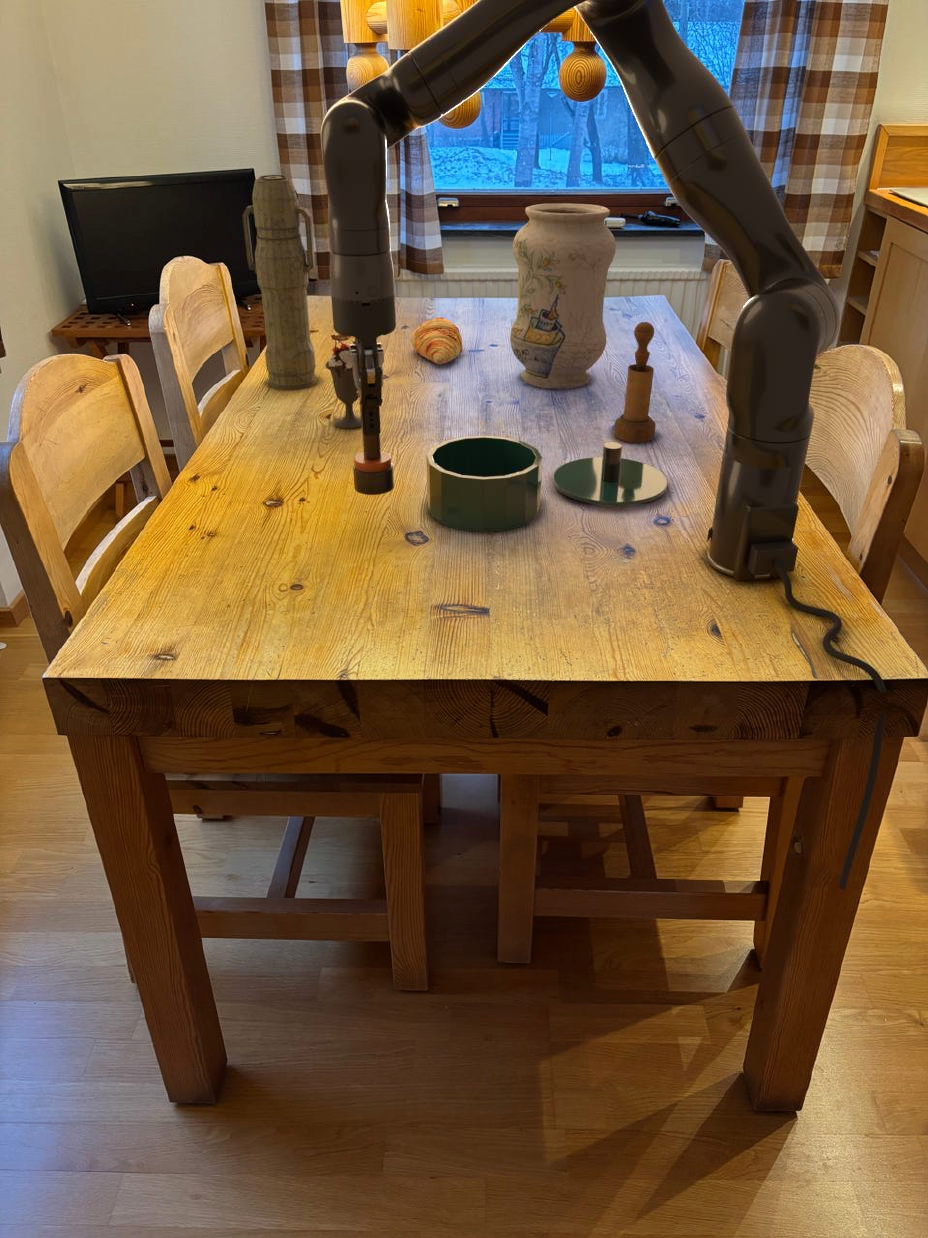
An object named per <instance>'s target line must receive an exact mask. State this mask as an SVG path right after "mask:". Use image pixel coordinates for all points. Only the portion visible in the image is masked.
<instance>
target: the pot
mask: <svg viewBox="0 0 928 1238" xmlns="http://www.w3.org/2000/svg"><path fill="white" fill-rule="evenodd" d="M425 459H426V498H427V500H426V501H427V507H428V508H427V509H428V512H429V514H430V516H431V517H432V518H433V519H434V520H435V521H437V522H438V523H440V524H442V525H444V526H446V527H449V528H452V529H456V530H460V531H466V532H474V533H491V532H492V533H496V532H503V531H510V530H514V529H516V528H517V529H518V528H520V527H522V526H525V525H527V524H529V523H530V522H532V521H533V520H534V519H535V518H536V517H537V516H538V515H539V512H540V507H541V499H542V498H541V496H542V477H543V475H542V473H543V456H542V454H541V453H540V451H539V449H538V448H536V447H535V446H532V445H531V444H529V443H527V442H525V441H523V440H518V439H514V438H510V437H505V436H494V435H473V436H472V435H471V436H470V435H469V436H461V437H457V438H453V439H447V440H445V441H443V442H440V443H438V444H437V445H434V446H432V447H431V449H430V450H429V452H428V453H427V455H426V457H425Z"/></svg>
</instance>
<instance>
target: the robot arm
mask: <svg viewBox="0 0 928 1238" xmlns="http://www.w3.org/2000/svg"><path fill="white" fill-rule="evenodd" d="M571 9H575V10H576V12H577V13H578V15H579V16H580V18H581V19H582V22H584V24H585V25H586V28H588V30H589V31H590V33H591V34H592V36H593V37H594V39H595V40H596V42H597V44H598V45H599V47H600V49H601V50H602V51H603V53H604V55H605V56H606V58H607V59H608V61H609V62H610V64H611V66H612V67H613V69H614V72H615V73H616V75H617V77H618V79H619V81H620V84H621V85H622V88H623V90H624V93H625V95H626V98H627V102H628V103H629V106H630V108H631V111H632V113H633V115H634V117H635V120H636V123H637V124H638V127H639V129H640V131H641V133H642V135H643V137H644V140H645V142H646V145H647V146H648V148H649V151H650V153H651V156H652V158H653V159H654V161H655V163H656V165H657V168H658V169H659V171H660V173H661V175H662V177H663V179H664V181H665V183H666V185H667V186H668V188H669V190H670V192H671V194H672V196H673V197H674V199H675V200H676V202H677V203H678V205H679V206H680V207H681V208H682V210H683V211H684V212H685V214H687V216H689V218H690V219H691V220H692V221H693V222H694V223H695V224H696V225H697V226H698V227H699V228H700V229H701V230H702V231H703V233H705V234H706V235H707V236H708V237H709V238H710V239H711V241H713V242H714V243H715V244H716V245H717V246H718V248H720V249H721V250H722V251H723V253H724V254H725V255H726V257H727V258H728V259H729V261H730V262H731V264H732V266H733V267H734V269H735V271H736V273H737V275H738V277H739V278H740V281H741V283H742V285H743V287H744V289H745V292H746V293H747V296H748V299H749V300H748V301H747V302H746V303H744V305H743V306H742V308H741V310H740V312H739V314H738V316H737V318H736V321H735V324H734V328H733V333H732V338H731V344H730V345H731V346H730V351H729V361H728V362H729V363H728V370H727V371H728V372H727V381H726V389H725V400H726V401H725V402H726V406H727V409H728V418H727V419H728V420H727V424H726V425H727V426H726V432H725V438H724V446H723V451H722V456H721V457H722V459H721V465H720V471H719V478H718V484H717V491H716V497H715V504H714V505H715V506H714V512H713V518H712V525H711V527H710V528H709V530H708V532H707V538H706V543H708V542H709V546H708V549H707V553H706V559H707V562H708V563H709V565H710V566H711V567H712V568H713V569H715V570H717V571H719V573H722V574H725V575H728V576H731V577H733V578H734V579H735V581H737V582H742V581H743V582H744V581H751V580H752V581H755V580H767V579H779V578H780V579H781V581H782V583H783V587H784V595H785V598H786V601H787V602H788V603H789V604H790V605H791V606H792V607H793V608H795V609H796V610H799V611H801V612H803V613H808V614H810V615H815V616H819V617H824V618H827V619H829V620H830V621H832V623H833V625H832V627H831V628H830V629H829V631H827V632H826V633H825V634H824V636H823V638H822V641H821V643H822V647H823V649H824V651H825V652H826V653H827V654H828V655H829V656H831V657H832V658H834V659H836V660H839V661H841V662H843V663H846V664H849V665H852V666H853V667H857V668H858V669H860V670H863V671H864V672H865V673H866V674H868V675H869V677H870V678H871V679H872V682H874V685H875V686H876V689H877V690H878V692H880V693H882V694H886V693H887V692H888V690H887V686H886V684H885V681H884V680H883V678H882V676H881V675H880V673H879V672H878V671H877V670H876V669H875V668H874V667H873V666H872V665H871V664H870V663H867V662H866V661H864V660H862V659H860V658H858V657H855V656H852V655H850V654H846V653H844V652H841V651H839V650H837V649H836V648H834V646H833V645H832V644H831V643H832V639H834V637H836V636H837V635H838V633H839V632H840V631H841V629H842V627H843V622H842V620H841V618H840V616H839V615H837V613H835V612H832V611H830V610H828V609H824V608H819V607H814V606H811V605H810V606H809V605H807V604H804V603H801V602H800V601H798V600H797V599H796V598H795V596H794V594H793V586H792V581H791V579H790V577H789V575H788V573H794V571H795V566H796V562H797V556H798V551H799V547H798V546H797V545H796V544H795V543H794V534H795V530H796V524H797V519H798V515H799V509H800V506H799V504H798V500H799V494H800V490H801V485H802V480H803V474H804V469H805V464H806V459H807V456H808V455H807V454H808V449H809V445H810V439H811V435H812V430H813V426H814V421H815V409H814V408H813V406H812V405H811V404H810V396H811V389H812V383H813V377H814V372H815V367H816V361H817V359H818V358H820V357H821V356H823V355H824V354H825V353H826V352H827V351H828V350H829V349H830V348H831V347H832V345H833V344H834V343H835V341H836V339H837V338H838V334H839V331H840V329H841V328H840V327H841V311H840V305H839V304H838V300H837V298H836V295H835V294H834V292H833V290H832V288H831V287H830V285H829V284H828V283H827V281H826V279H825V277H824V276H823V275H822V273H821V271H820V270H819V269H818V266H816V263H815V262H814V261H813V259H812V258H811V256H810V254H809V253H808V251H807V250H806V249H805V246H804V245H803V244H802V242H801V241H800V239H799V237H798V236H797V234H796V232H795V231H794V230H793V229H794V228H793V227H792V226H791V224H790V222H789V220H788V218H787V215H786V214H785V211H784V209H783V207H782V204H781V202H780V200H779V198H778V196H777V193H776V192H775V189H774V187H773V185H772V183H771V180H770V179H769V177H768V174H767V173H766V170H765V168H764V167H763V164H762V163H761V159H759V155H758V154H757V152H756V149H755V147H754V144H753V143H752V139H751V137H750V136H749V134H748V132H747V129H746V128H745V126H744V123H743V122H742V120H741V118H740V116H739V114H738V111H737V109H736V108H735V105H734V104H733V102H732V100H731V99H730V96H729V95H728V94H727V92H726V90H725V89H724V87H723V86H722V85H721V83H720V82H719V80H718V79H717V78H716V76H714V74H713V73H712V72H711V71H710V70H709V69H708V68H707V67H706V65H705V64H704V63H703V62H702V61H701V60H700V59H699V58H698V57H697V56H696V55H695V54H694V53H693V51H692V50H691V49H690V47H688V45H687V44H686V43H685V42H684V41H683V40H682V38H681V36H680V35H679V33H678V31H677V29H676V27H675V26H674V23H673V20H672V18H671V17H670V15H669V12H668V10H667V7H666V5H665V3H664V0H477V1H476V2H474V3H473V4H472V5H471V6H469V7H468V8H467V9H465V10H464V11H463V12H462V13H460V14H459V15H458V16H456V17H455V18H454V19H452V20H451V21H450V22H448V23H447V24H445V25H444V26H442V27H441V28H440V29H438V30H437V31H435V32H434V33H433V34H431V35H430V36H428V37H427V38H426V39H424V40H423V41H422V42H420V43H419V44H418V45H416V46H414V47H413V48H412V49H410V50H409V51H408V52H406V53H405V54H404V55H402V56H401V57H400V58H399V59H398V60H397V61H395V62H394V63H393V64H391V66H390V67H389V68H388V69H386V71H384V72H383V73H381V74H379V75H378V76H376V77H374V78H373V79H371V80H369V81H367V82H366V83H364V84H363V85H361V86H360V87H358V88H356V89H355V90H354V91H351V92H350V93H348V94H347V95H346V96H344V97H342V98H340V100H338V101H337V102H335V103H334V104H333V105H332V106H331V107H330V108H329V109H328V111H327V113H326V114H325V116H324V117H323V121H322V123H321V128H320V144H321V147H320V149H321V155H322V164H323V165H322V166H323V171H324V172H323V173H324V180H325V187H326V188H325V189H326V193H327V202H328V204H327V205H328V206H327V207H328V208H327V227H328V228H327V229H328V241H329V250H330V251H329V283H330V284H329V286H330V297H331V311H332V324H333V330H334V331H335V333H336V334H338V335H340V336H343V337H347V338H352V337H353V338H354V340H353V341H352V343H351V344H348V346H349V351H350V358H351V362H352V367H353V377H354V380H355V386H356V388H357V389H358V391H357V395H358V397H359V398H358V404H359V413H360V414H359V415H360V416H361V410H362V419H361V418H360V419H361V425H362V426H363V433H364V435H366V436H370V435H379V434H380V435H381V432H382V431H381V413H380V410H381V409H380V407H382V405H383V398H382V396H383V395H382V394H383V393H382V392H383V391H382V390H383V389H382V388H383V387H384V371H383V369H384V368H383V364H384V363H385V353H384V348H383V346H382V342H378V341H377V339H378V338H379V337H381V336H387V335H390V334H391V333H393V332H394V331H395V330H396V327H397V317H396V291H395V271H394V270H395V268H394V264H393V258H392V257H393V256H392V250H391V248H392V246H391V226H390V225H391V224H390V213H389V207H388V202H387V175H388V174H387V169H388V168H387V164H388V163H387V152H388V150H389V149H391V148H392V147H394V146H395V145H396V144H398V143H399V142H400V141H401V140H403V139H405V138H406V137H407V136H408V135H410V134H411V133H413V132H414V131H416V130H417V129H420V128H424V127H426V126H429V125H431V124H433V123H435V122H436V121H438V120H439V119H441V118H442V117H443V116H445V115H446V114H448V113H449V112H451V111H452V110H454V109H455V108H457V107H458V106H460V105H461V104H462V103H463V102H465V101H466V100H468V99H470V98H471V97H472V96H473V95H474V94H476V93H477V92H478V91H479V90H481V89H482V88H483V87H484V86H486V85H487V84H488V83H489V82H490V81H491V80H492V79H493V78H495V76H496V75H497V74H498V73H500V71H501V70H503V68H504V67H505V66H507V64H508V63H509V62H510V61H511V60H512V58H513V57H514V56H516V54H517V53H518V52H520V50H521V49H522V48H523V47H524V46H525V45H526V44H527V43H528V42H529V41H530V40H531V39H532V38H533V37H534V36H536V35H537V34H538V33H540V32H541V30H543V29H544V28H545V27H546V26H548V25H549V24H551V22H553V21H554V20H557V18H559V17H560V16H562V15H563V14H565V13H566V12H568V11H570V10H571ZM367 394H376V396H366V395H367ZM362 426H361V427H362ZM886 720H887V713H884V714H878V715H877V717H876V722H875V727H874V734H873V741H872V749H871V756H870V757H871V758H870V762H869V768H868V774H867V779H866V784H865V789H864V794H863V797H862V801H861V805H860V808H859V812H858V815H857V819H856V821H855V822H856V823H855V826H854V829H853V832H852V836H851V839H850V842H849V846H848V848H847V853H846V855H845V859H844V863H843V867H842V871H841V874H840V878H839V882H838V886H837V887H838V888H839V889H840V890H846V889H847V886H848V885H847V884H848V881H849V876H850V873H851V870H852V866H853V863H854V859H855V856H856V852H857V849H858V846H859V843H860V839H861V836H862V833H863V829H864V826H865V823H866V820H867V816H868V812H869V809H870V806H871V802H872V797H873V793H874V789H875V784H876V780H877V776H878V771H879V770H878V769H879V765H880V758H881V751H882V743H883V738H884V737H883V736H884V730H885V724H886Z"/></svg>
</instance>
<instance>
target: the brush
mask: <svg viewBox="0 0 928 1238" xmlns="http://www.w3.org/2000/svg"><path fill="white" fill-rule="evenodd" d="M366 396H376V394H367V395H366ZM360 419H362V410H361V415H360ZM361 432H362V449H363V451H362V452H359V453H357V454H355V455H354V457H353V463H354V464H353V465H352V473H353V488H354V491H356V492H357V493H358V494H361V495H367V496H377V495H378V496H379V495H383V494H387V493H390V492H391V491H392V490H394V488H395V482H394V481H395V480H394V479H395V478H394V464H393V462H392V456H391V454H390V453H388V452H387V451H383V450H382V449H381V433H380V434H379V435H370V436H366V435H364V433H363V426H361Z"/></svg>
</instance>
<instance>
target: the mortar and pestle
mask: <svg viewBox="0 0 928 1238" xmlns="http://www.w3.org/2000/svg"><path fill="white" fill-rule="evenodd" d="M633 335H634V338H635V340H636V343H637V345H638V346H637V348H636V349H637V350H636V351H634V358H635V363H634V364H631V365H629V366H628V367H627V377H626V378H627V379H626V388H625V389H626V390H625V399H624V406H623V407H624V408H623V413H622V414H621V415H620V416H618V417H617V418H616V419H615V421H614V429H613V435H614V437H615V438H617V439H618V440H620V441H624V442H627V443H637V444H640V443H641V444H642V443H647V442H649V441H652V440H653V439H654V438H655V434H656V424H657V423H656V421H655V420H654V419H653V418H652V416H650V415H649V413H650V405H651V404H650V403H651V396H652V389H653V379H654V371H655V368H654V367H653V366H651V365H649V364H648V361H649V359H650V355H651V352H650V351H649V350H648V346H649V344H650V342H651V341H652V339H653V337H654V336H655V328H654V326H653V324H652V323H651V322H648V321H641V322H638V324H637V325H636V326H635V327H634V330H633Z"/></svg>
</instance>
